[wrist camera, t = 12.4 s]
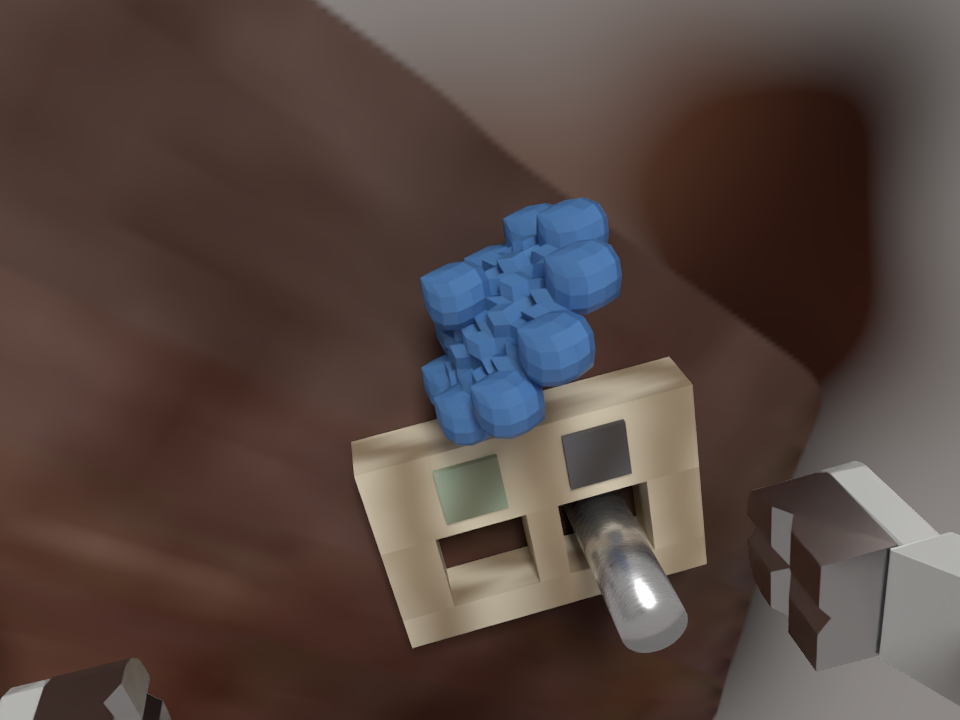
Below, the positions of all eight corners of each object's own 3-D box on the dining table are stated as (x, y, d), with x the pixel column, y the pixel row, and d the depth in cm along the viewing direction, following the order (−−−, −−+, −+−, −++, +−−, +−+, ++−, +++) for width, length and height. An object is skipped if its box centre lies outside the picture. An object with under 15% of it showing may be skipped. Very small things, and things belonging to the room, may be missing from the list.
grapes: (469, 111, 36) (536, 190, 25) (594, 183, 38) (702, 282, 28) (347, 332, 39) (362, 480, 29) (468, 384, 42) (522, 538, 32)
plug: (566, 525, 47) (624, 660, 39) (558, 480, 46) (617, 612, 37) (619, 509, 48) (689, 641, 39) (613, 465, 46) (685, 592, 37)
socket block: (406, 608, 48) (413, 652, 45) (351, 441, 42) (354, 480, 39) (685, 529, 49) (709, 567, 46) (669, 356, 43) (694, 387, 40)
